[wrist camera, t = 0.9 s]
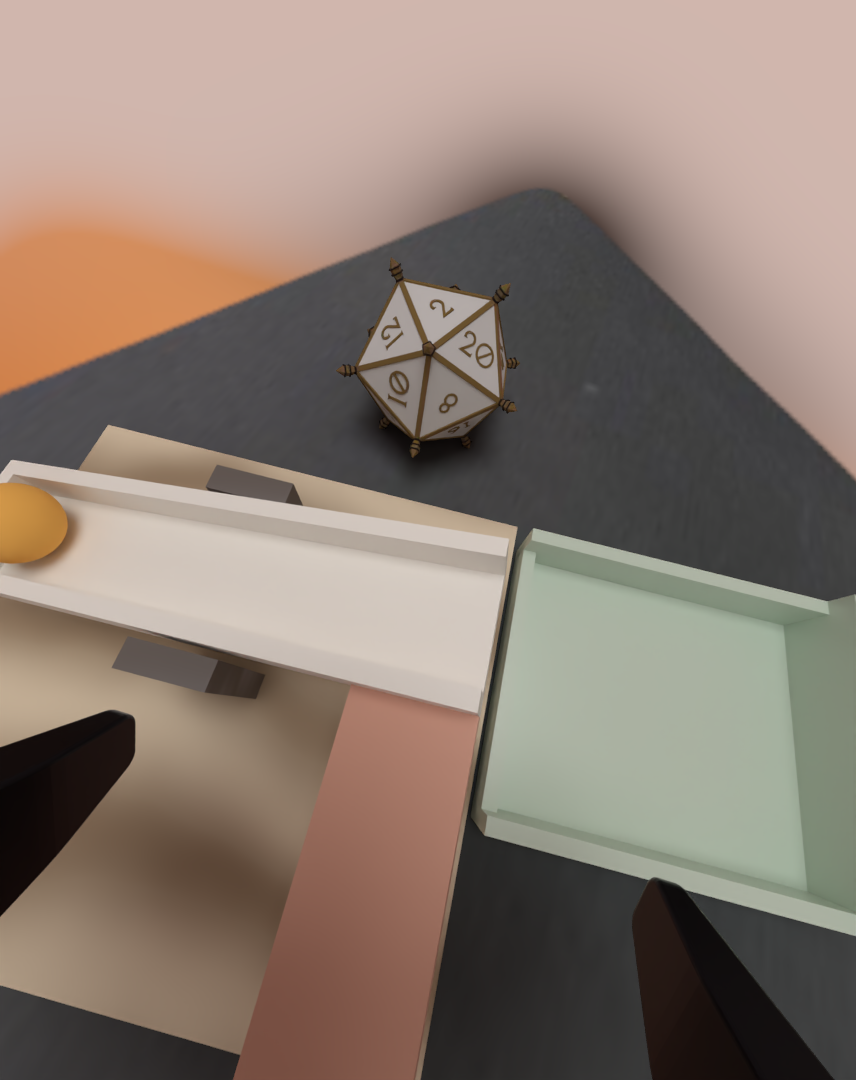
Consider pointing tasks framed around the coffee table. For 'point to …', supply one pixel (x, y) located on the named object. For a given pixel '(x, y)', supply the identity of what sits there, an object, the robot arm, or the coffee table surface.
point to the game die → (435, 360)
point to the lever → (362, 737)
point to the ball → (29, 523)
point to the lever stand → (182, 783)
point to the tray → (676, 729)
